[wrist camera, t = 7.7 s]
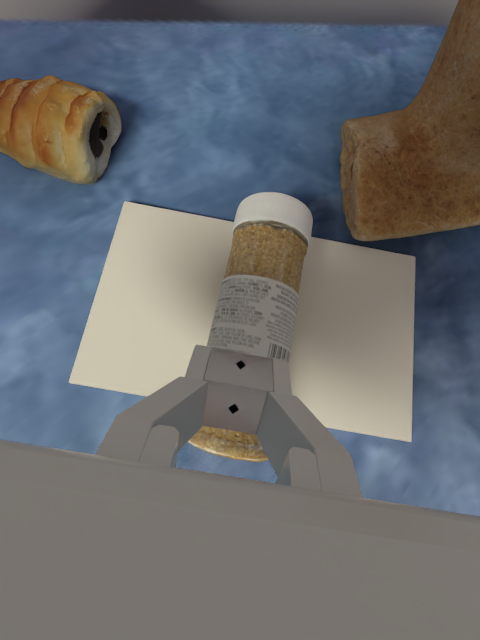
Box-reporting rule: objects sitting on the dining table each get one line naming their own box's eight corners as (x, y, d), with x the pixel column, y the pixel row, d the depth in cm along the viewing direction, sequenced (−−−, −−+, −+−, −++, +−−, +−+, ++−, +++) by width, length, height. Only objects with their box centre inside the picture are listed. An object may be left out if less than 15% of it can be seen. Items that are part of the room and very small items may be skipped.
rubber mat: (72, 383, 18) (68, 382, 17) (126, 205, 21) (124, 201, 20) (406, 441, 18) (411, 442, 18) (410, 259, 21) (415, 256, 21)
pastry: (-33, 161, 21) (-87, 110, 17) (10, 89, 23) (-30, 29, 19) (100, 196, 21) (75, 152, 17) (132, 121, 23) (116, 68, 19)
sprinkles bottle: (232, 442, 18) (273, 241, 21) (292, 466, 14) (330, 221, 18) (164, 436, 15) (222, 206, 18) (218, 464, 12) (278, 174, 15)
